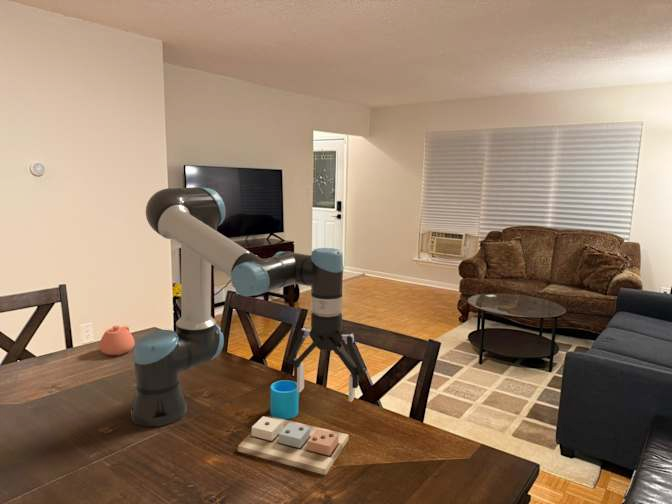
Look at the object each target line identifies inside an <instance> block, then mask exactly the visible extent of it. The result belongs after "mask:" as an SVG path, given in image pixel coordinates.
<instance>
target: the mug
mask: <svg viewBox="0 0 672 504" xmlns="http://www.w3.org/2000/svg"><path fill="white" fill-rule="evenodd" d="M269 391H270V392H269V393H270V395H269V396H270V416H272V417H276V418H280V419H284V420H290V419H293V418H296V416H297V415H298V414H299V397H300V393H301V392H297V381H294V380H288V379H287V380H285V379H284V380H278V381H275V382H273V383H272V384H271V385H270V390H269Z"/></svg>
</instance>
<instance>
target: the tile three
mask: <svg viewBox="0 0 672 504" xmlns="http://www.w3.org/2000/svg"><path fill="white" fill-rule="evenodd" d="M338 439H339V434H337V433H332V432H328V431H324V430H320V429H317V430H316V431H315V432H314V433H313V435H312V436H311V437H310V438H309V440H308V441H307V440H306V443H307V450H309V451H310V452H312V453H316V454H317V453H318V454H320V455H324V456H327V457H331V456H332V454H333V453H334V451H335V450H336V448H335V447H336V446H337V444H338Z"/></svg>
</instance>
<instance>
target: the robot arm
mask: <svg viewBox="0 0 672 504" xmlns="http://www.w3.org/2000/svg"><path fill="white" fill-rule="evenodd" d="M145 216H146V217H145V218H146V221H147V222H148V224H149V227H151V229H152V230H153V231H155V232H156V233H157V234H158V235H160V236H161V237H163V238H164V239H167V240H175V241H176V242H177V243H179V244H180V284H181V285H180V287H181V288H180V289H181V290H180V291H181V293H180V295H181V297H180V298H181V299H180V303H181V307H180V309H181V311H180V312H181V316H180V318H179V319H178V320H177V321H176V323H175V329H176V330H171V329H160V330H159V331H158V330H155V331H151V332H148V333H145V334H144V335H142V336H140V337H139V338H138V339H137V340H136V342H135V345H134V347H133V348H134V350H133V351H134V353H133V360H134V370H135V372H134V373H135V390H136V391H135V395H134V398H133V401H132V405H131V409H130V419H131V422H133V423H134V424H136V425H137V426H141V427H147V428H149V427H150V428H151V427H154V428H155V427H162V426H165V425H169V424H172V423H175V422H176V421H178V420H180V419H182V418H183V417H184V416H185V415H186V413H187V411H188V410H187V409H188V407H187V400H186V398H185V397H184V393H183V390H182V388H181V385H180V384H181V383H180V374H181V373H182V372H185V371H187V370H190V369H193V368H195V367H197V366H200V365H203V364H206V363H208V362H210V361H212V360H213V359H216V358H217V357H218V356H219V355H220V354H221V353H222V350H223V348H224V343H225V342H224V341H225V340H224V334H223V332H221V331H222V329H221V327H220V325H219V324H217V321H216V319H215V318H213V316H212V312H211V311H212V266H213V267H215V268H216V269H218V270H219V271H220V272H222V273H223V274H225V275H226V276H228V277H230V281H231V285H232V287H233V288H234V289H235V292H236V293H237V294H238V295H240V296H242V297H246V298H247V297H252V296H259V295H262V294H265V293H267V292H271V291H274V290H277V289H282V288H284V287H287V286H291V285H300V286H301V285H302V286H307V287H310V288H311V289H310V292H311V295H310V296H311V298H310V299H311V300H310V301H311V302H310V304H311V305H310V306H311V307H310V308H311V309H310V310H311V312H312V313H311V314H310V329H308V328H307V326H304V327H302V328H300V329H299V330H298V335H297V338H296V341H295V343H294V345H293V347H292V349H291V350H290V353H289V355H288V356H287V359H286V362H287V364H291V365H293V377H294V379H296V383H297V392H300V393H301V392H302V391H303V390H304V389H305V363H303V361H304V360H305V359H307V357H308V356H309V355H310V354H311V353H312V351H314V350H315V349H316V348H317V349H318V350H320V351H327V352H332V351H333V353H335V355H337V356H338V358H339V359H340V360H341V362H342V363H343V364H344V366H345V367H346V368H347V369H348V371H349V372H350V374H349V376H348V402H350V403H352V402H353V400H354V399H355V398H356V389H358V387H359V386H360V385H359V384H360V375H361V376H364V375H365V374H366V371H367V370H368V368H367V365H366V363H365V361H364V359H363V357H362V354H361V351H360V350H359V348H358V346H357V343H356V337H355V334H354V332H351V333H350V334H344V333H343V314H342V312H343V277H344V276H343V275H344V270H345V269H344V262H343V261H344V259H343V258H344V256H343V253H342V251H341V250H340V249H338V248H333V247H329V248H328V247H319V248H314V249H313V250H311V255H310V254H306V253H305V254H303V253H299V252H298V253H297V252H293V251H278V252H276V253H275V254H274V255H273V256H272V257H267V258H261V257H260V256H258V255H256V254H254V253H253V252H251V251H249V250H248V249H246V248H244V247H243V246H241V245H240V244H238V243H236V242H235V241H233V240H232V239H230V238H228V237H227V236H225V235H223V234H222V233H220V232H219V231H218V227H219V226H221V225H222V224H223V222H224V220H225V217H226V205H225V202H224V200H223V198H222V197H221V196H220V194H219V193H218V192H217V191H216V190H215V189H212V188H209V187H199V186H195V187H180V188H178V187H176V188H173V187H172V188H171V187H167V188H164V189H161V190H158V191H157V192H155V193H154V194H152V196H151V197H150V198H149V200H148V201H147V204H146V208H145ZM308 337H310V339H311V340H312V343H311V344H310V345H309V346H308V347H307V348H306V349H305V350H304V351H303V352H302V353H301V354H300V355H299V357H297V356H298V353H299V351H300V349H301V348H302V346H303V344H304V342H305V340H306V338H308ZM342 341H344V343H345V345H346V346H347V349H348V351H349V353H350V354H349V353H348V352H347V350H346V349H345V346H344V344H343V343H342ZM350 355H351V356H350Z"/></svg>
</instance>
